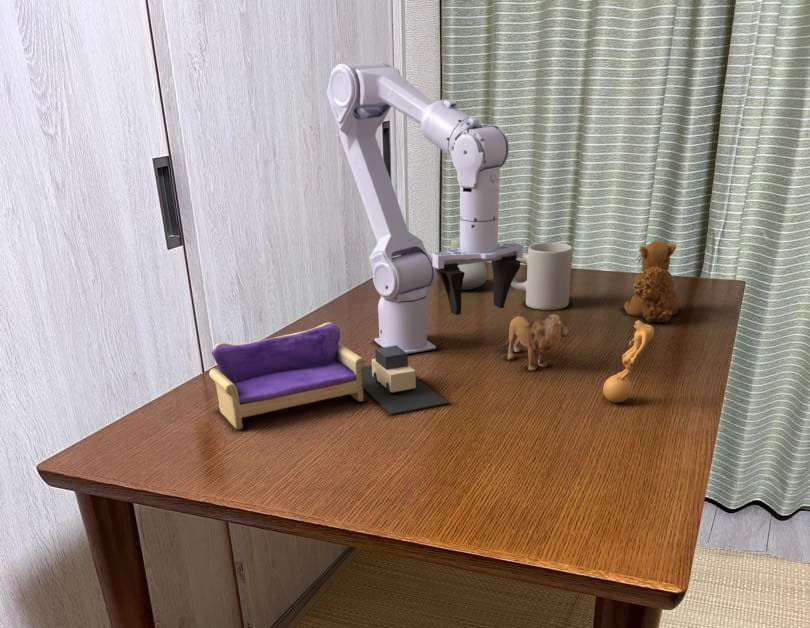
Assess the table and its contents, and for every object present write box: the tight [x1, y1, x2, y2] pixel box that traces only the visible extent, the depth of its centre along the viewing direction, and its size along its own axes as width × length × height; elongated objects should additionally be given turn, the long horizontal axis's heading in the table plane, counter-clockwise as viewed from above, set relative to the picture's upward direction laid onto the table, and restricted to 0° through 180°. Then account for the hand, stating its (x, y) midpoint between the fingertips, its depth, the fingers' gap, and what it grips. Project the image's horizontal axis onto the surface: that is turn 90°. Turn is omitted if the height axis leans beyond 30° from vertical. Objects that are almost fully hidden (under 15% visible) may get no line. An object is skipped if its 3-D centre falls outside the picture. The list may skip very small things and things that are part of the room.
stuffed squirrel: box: [623, 240, 681, 323], centre depth 149 cm, size 10×14×13 cm
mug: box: [510, 242, 573, 311], centre depth 160 cm, size 12×8×11 cm
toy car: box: [371, 345, 417, 394], centre depth 124 cm, size 8×4×5 cm, turn 23°
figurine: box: [602, 319, 655, 404], centre depth 115 cm, size 8×6×12 cm
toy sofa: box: [208, 321, 366, 430], centre depth 117 cm, size 21×9×10 cm, turn 118°
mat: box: [361, 365, 449, 416], centre depth 125 cm, size 20×9×1 cm, turn 23°
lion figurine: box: [498, 313, 569, 372], centre depth 131 cm, size 15×5×9 cm, turn 33°
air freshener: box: [450, 236, 488, 291], centre depth 172 cm, size 11×8×10 cm
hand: (477, 309), depth 127 cm, fingers open, 7 cm apart
